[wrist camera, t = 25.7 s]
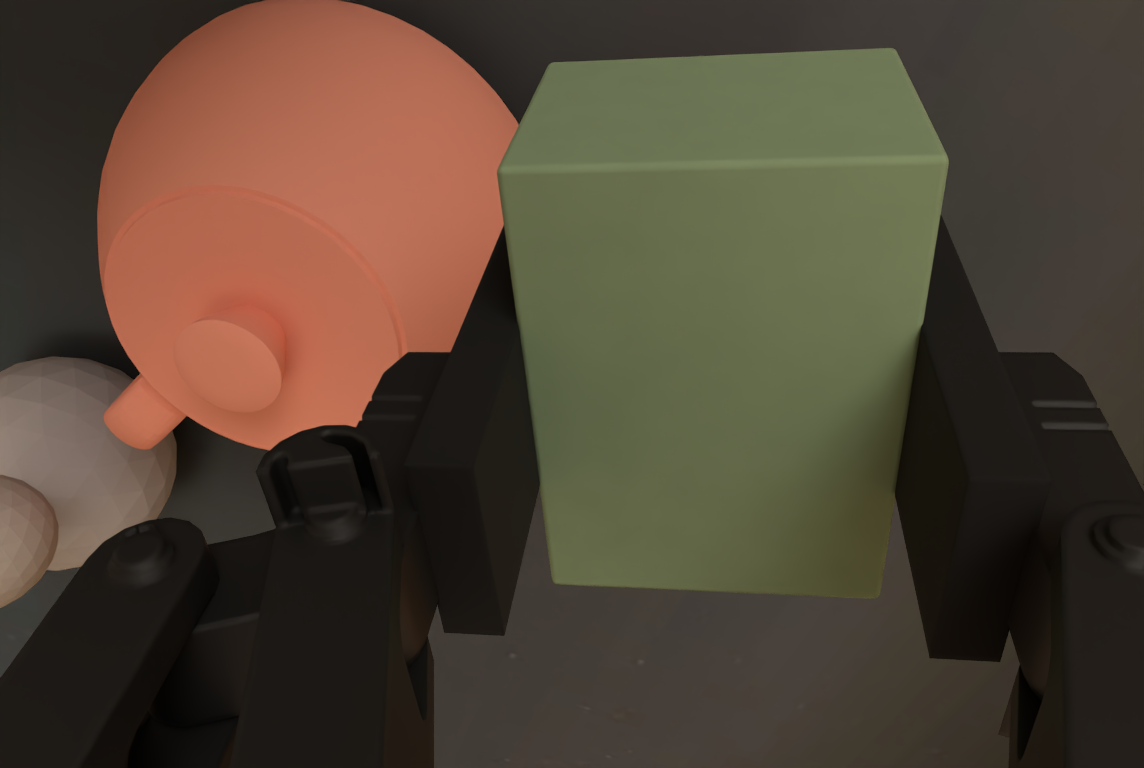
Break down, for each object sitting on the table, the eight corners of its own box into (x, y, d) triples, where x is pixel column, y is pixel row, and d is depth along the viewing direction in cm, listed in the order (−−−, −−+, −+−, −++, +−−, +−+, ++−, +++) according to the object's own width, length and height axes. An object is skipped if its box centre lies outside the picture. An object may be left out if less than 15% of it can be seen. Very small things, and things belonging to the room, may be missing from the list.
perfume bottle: (18, 439, 38) (-232, 687, 28) (19, 239, 32) (-292, 462, 22) (197, 504, 38) (16, 768, 29) (229, 320, 33) (17, 570, 23)
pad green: (851, 434, 17) (880, 601, 14) (582, 429, 18) (551, 586, 15) (896, 45, 13) (952, 156, 10) (547, 61, 14) (494, 167, 11)
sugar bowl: (646, 229, 29) (610, 434, 20) (345, 429, 35) (224, 648, 27) (358, -127, 24) (161, -49, 16) (73, 178, 30) (-175, 347, 22)
